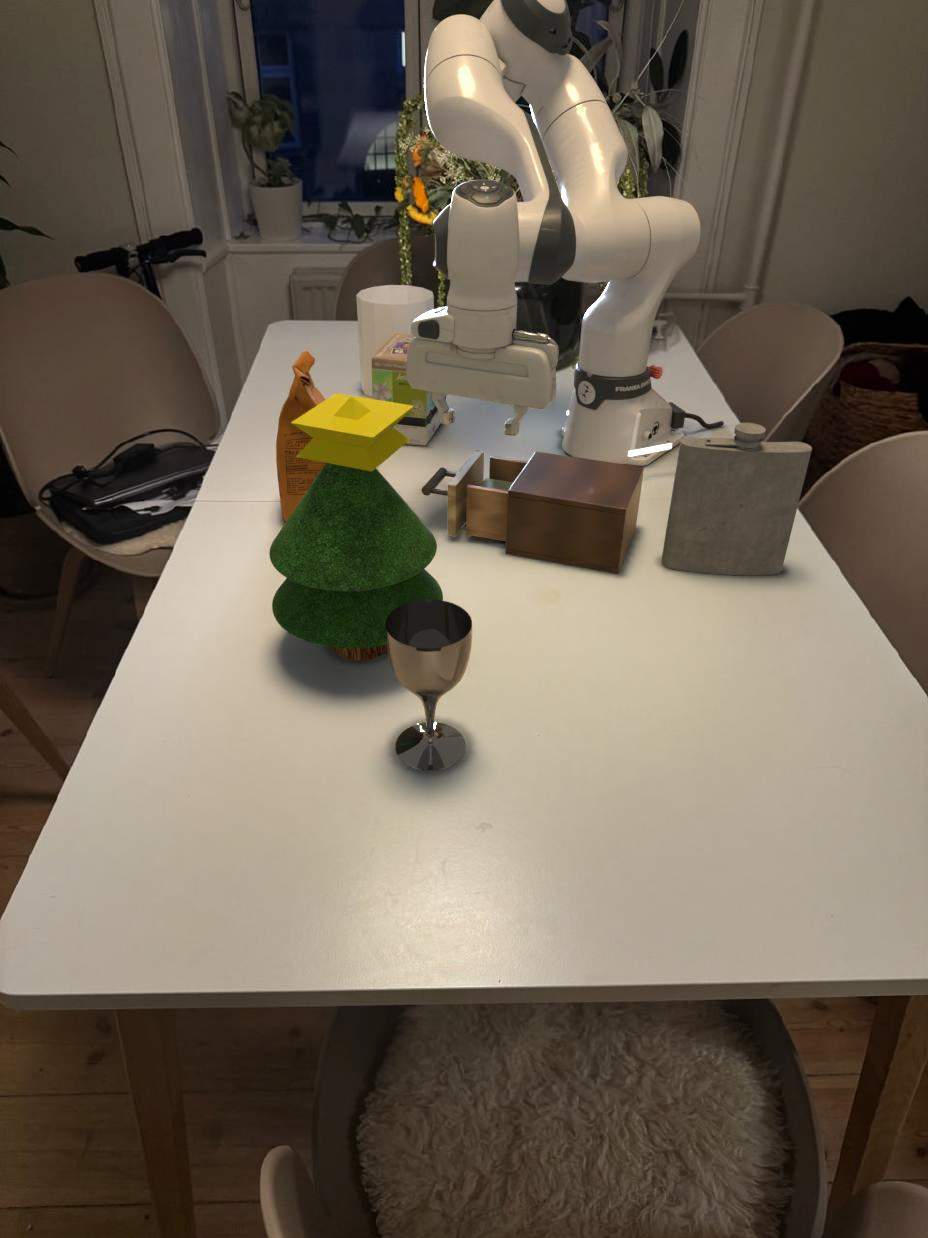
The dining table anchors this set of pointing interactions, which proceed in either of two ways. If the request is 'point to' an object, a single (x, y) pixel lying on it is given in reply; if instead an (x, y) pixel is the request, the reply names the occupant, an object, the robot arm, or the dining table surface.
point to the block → (496, 484)
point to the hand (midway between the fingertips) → (479, 428)
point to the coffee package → (296, 438)
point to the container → (386, 320)
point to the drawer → (477, 496)
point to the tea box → (403, 391)
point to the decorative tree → (351, 534)
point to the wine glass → (429, 675)
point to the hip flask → (734, 503)
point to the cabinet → (573, 511)
